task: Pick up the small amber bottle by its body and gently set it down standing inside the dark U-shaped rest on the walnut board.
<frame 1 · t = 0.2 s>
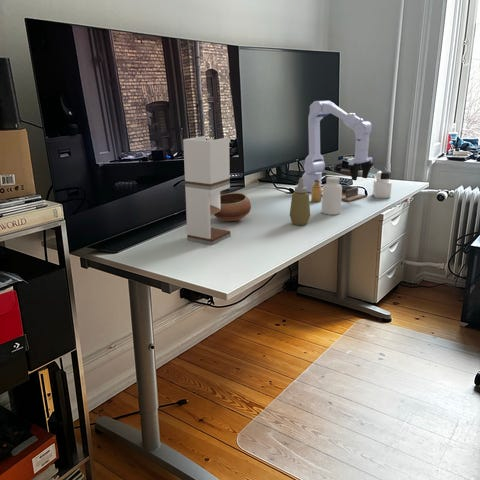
hand: (359, 179, 223), 10 cm above the table, tool pointing down, fingers open, 7 cm apart
bottle rest: (343, 196, 233), on the table
medicine bottle: (381, 196, 234), on the table
bowl: (231, 220, 196), on the table
white tower: (209, 238, 173), on the table
amber bottle: (316, 201, 225), on the table
pill bottle: (331, 213, 205), on the table
squeeze bottle: (299, 224, 190), on the table
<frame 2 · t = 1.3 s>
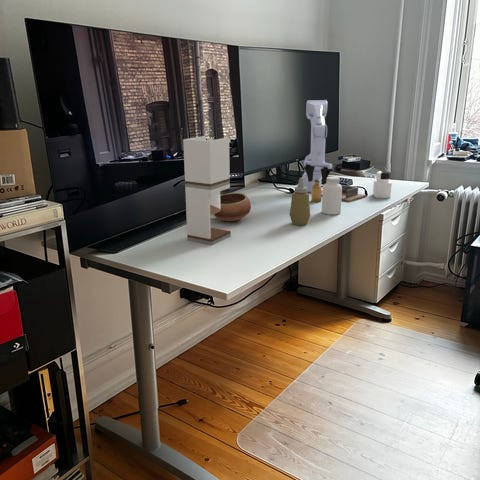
hand: (317, 182, 222), 9 cm above the table, tool pointing down, fingers open, 7 cm apart
nothing on the table moved.
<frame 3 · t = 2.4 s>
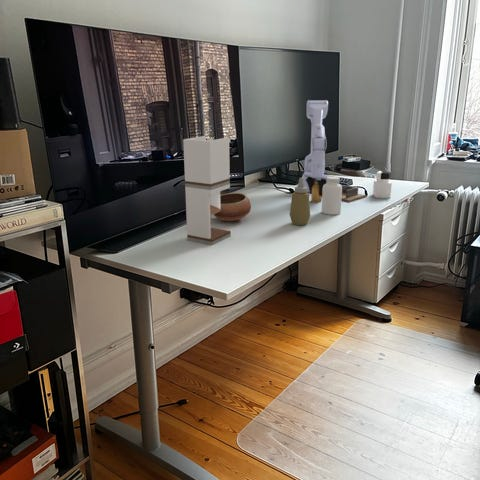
hand: (316, 194, 224), 3 cm above the table, tool pointing down, fingers closed on amber bottle, 5 cm apart
amber bottle: (316, 201, 225), on the table, touching gripper
everything else where it was.
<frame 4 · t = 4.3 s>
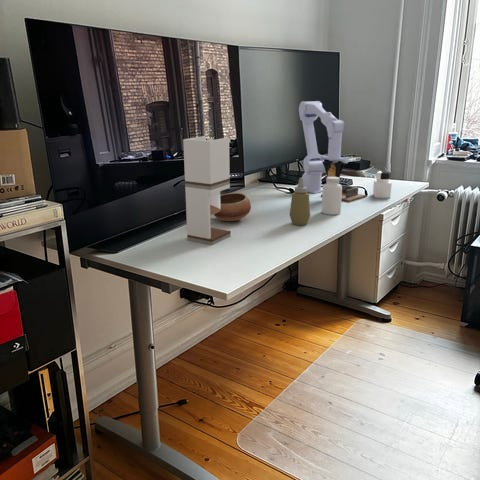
hand: (333, 176, 226), 10 cm above the table, tool pointing down, fingers closed on amber bottle, 5 cm apart
amber bottle: (332, 184, 227), point 7 cm above the table, touching gripper
everything else where it was.
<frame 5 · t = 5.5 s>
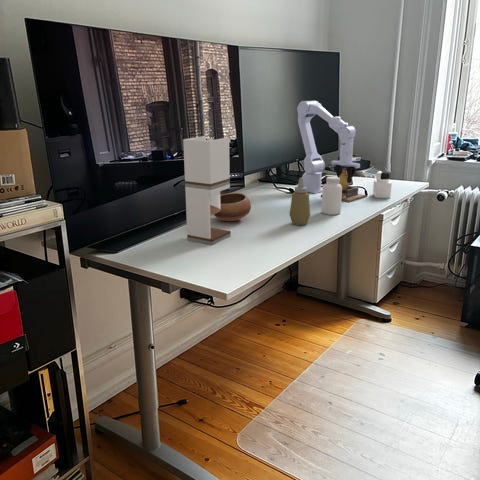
hand: (344, 181, 230), 7 cm above the table, tool pointing down, fingers closed on amber bottle, 5 cm apart
amber bottle: (343, 189, 231), point 4 cm above the table, touching gripper
everything else where it was.
when the fingers open (6 cm above the table, at t = 6.4 s): amber bottle drops 1 cm, resting on bottle rest.
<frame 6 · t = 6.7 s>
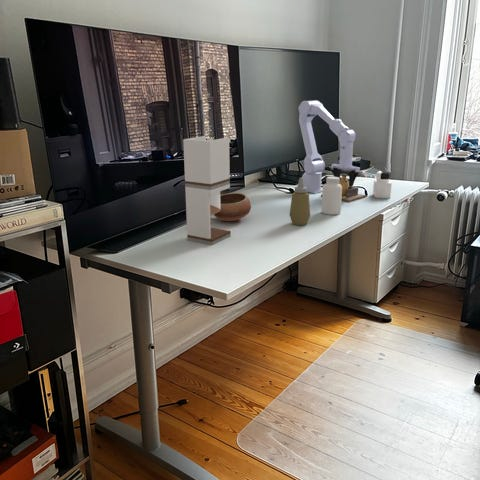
hand: (344, 185, 231), 6 cm above the table, tool pointing down, fingers open, 7 cm apart
amber bottle: (343, 195, 232), point 1 cm above the table, touching bottle rest
everything else where it was.
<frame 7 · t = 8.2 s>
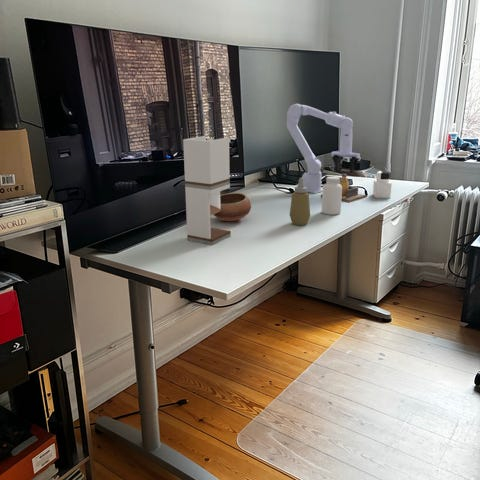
hand: (344, 171, 239), 10 cm above the table, tool pointing down, fingers open, 7 cm apart
nothing on the table moved.
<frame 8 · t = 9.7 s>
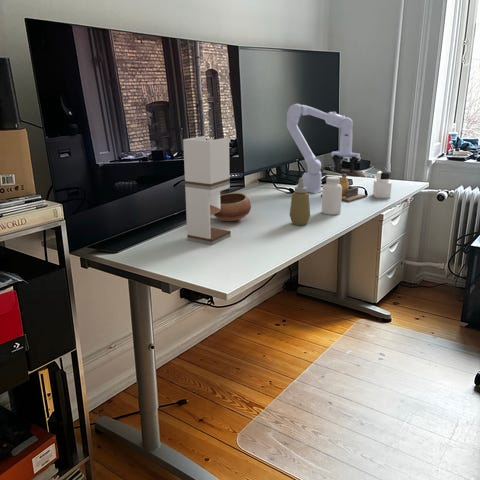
hand: (344, 171, 239), 10 cm above the table, tool pointing down, fingers open, 7 cm apart
nothing on the table moved.
at the end: amber bottle 0.5 cm off-centre on the bottle rest, point 1.0 cm above the bottle rest's base; amber bottle tilted 0°; the gripper is holding nothing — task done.
